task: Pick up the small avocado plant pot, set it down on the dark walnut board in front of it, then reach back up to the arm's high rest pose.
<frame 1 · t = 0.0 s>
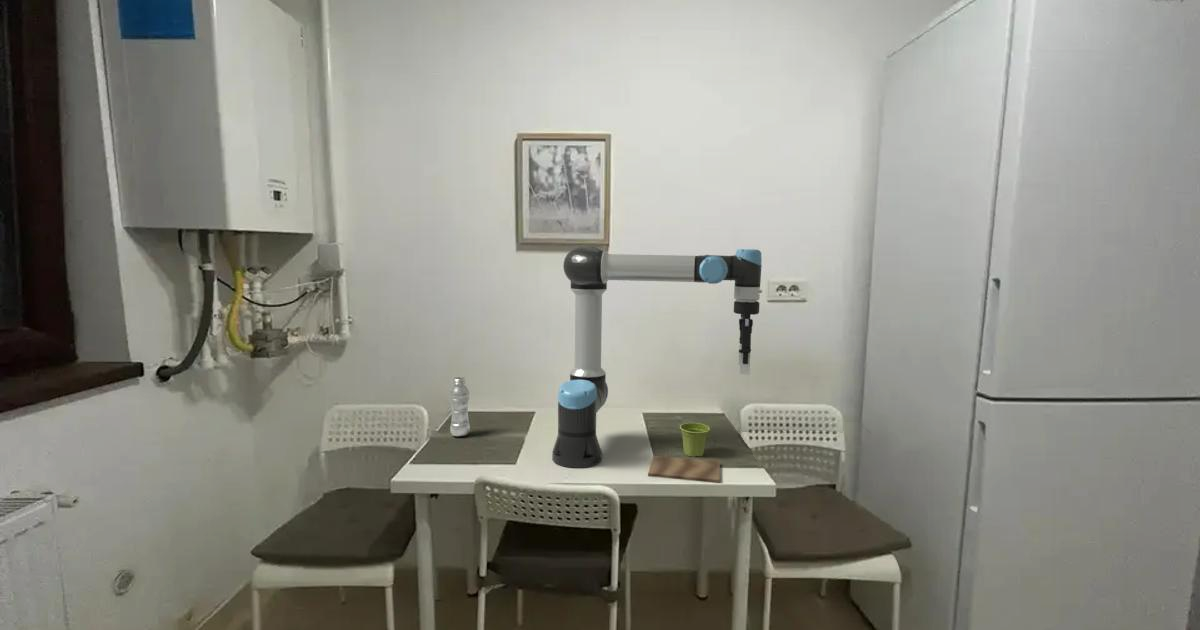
hand: (743, 369, 174), 28 cm above the table, tool pointing down, fingers open, 13 cm apart
plant pot: (693, 454, 181), on the table
walnut board: (684, 469, 167), on the table
plastic bottle: (460, 435, 195), on the table
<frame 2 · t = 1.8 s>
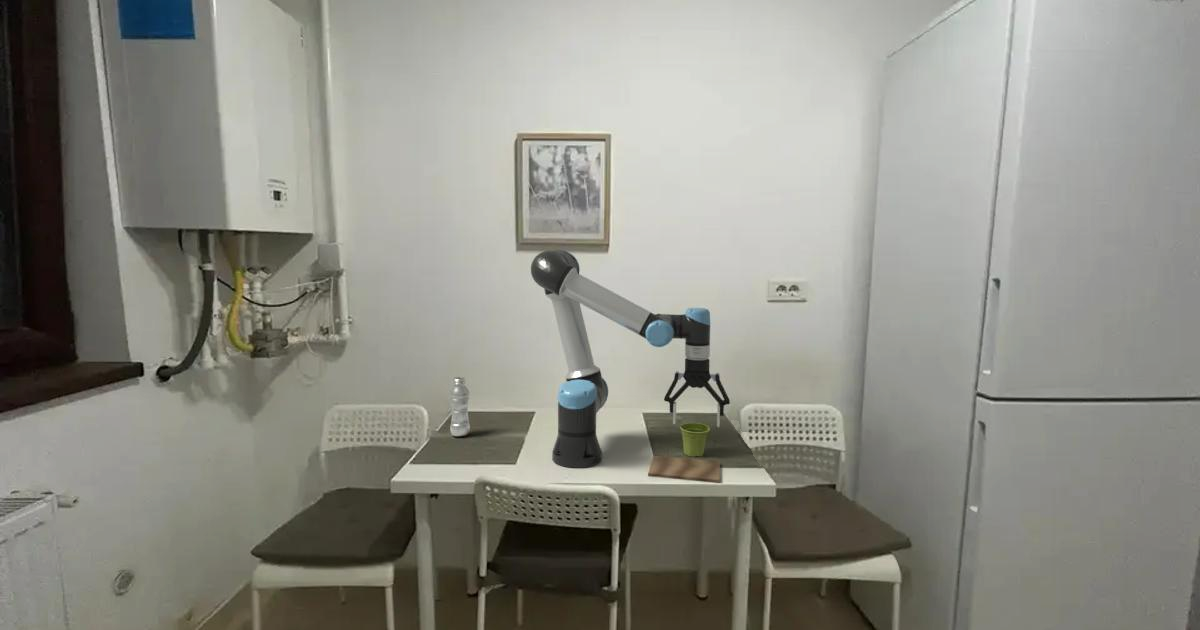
hand: (696, 424, 179), 10 cm above the table, tool pointing down, fingers open, 13 cm apart
nothing on the table moved.
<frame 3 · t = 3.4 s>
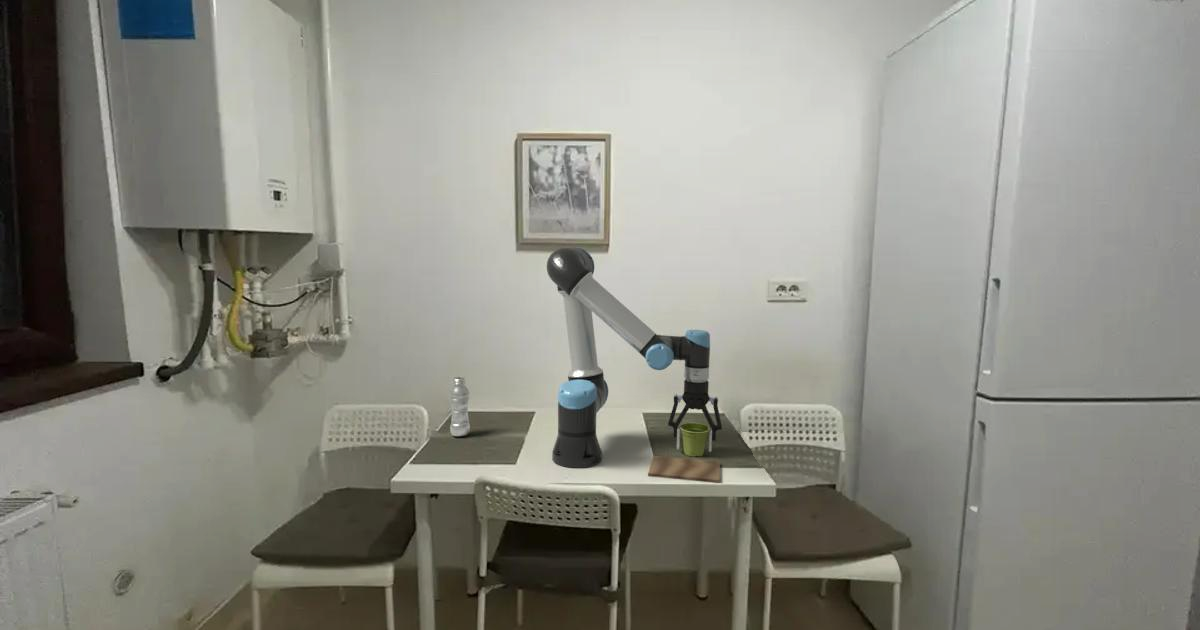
hand: (694, 448, 180), 2 cm above the table, tool pointing down, fingers closed on plant pot, 9 cm apart
plant pot: (693, 454, 181), on the table, touching gripper
everything else where it was.
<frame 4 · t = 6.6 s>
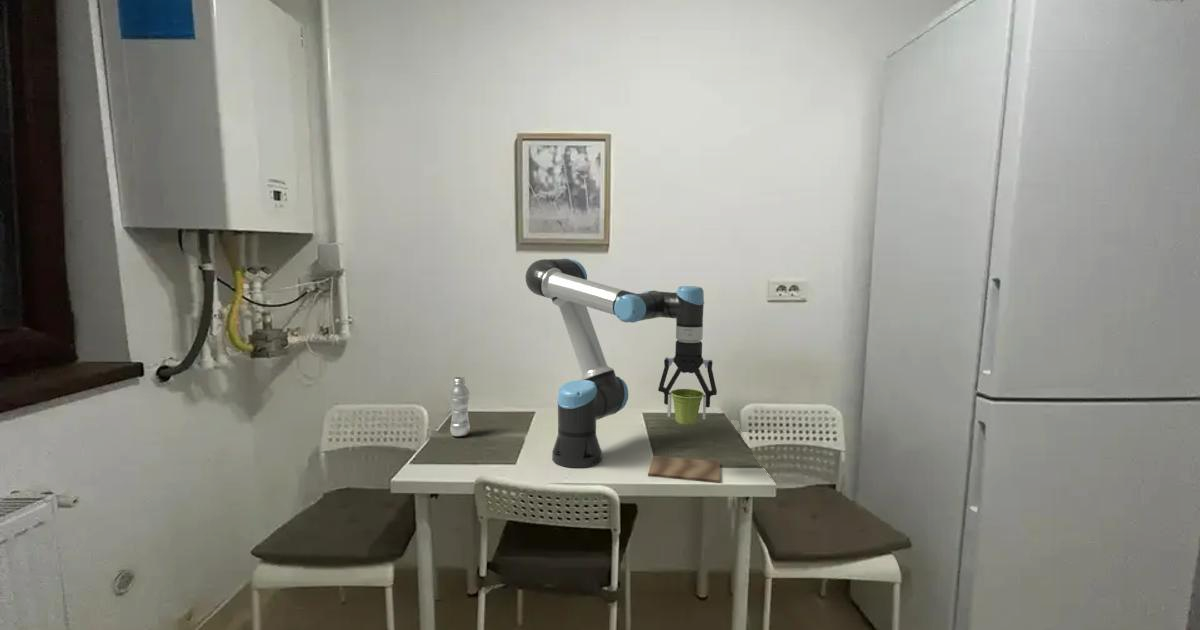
hand: (686, 416, 165), 16 cm above the table, tool pointing down, fingers closed on plant pot, 9 cm apart
plant pot: (686, 422, 166), point 14 cm above the table, touching gripper
everything else where it was.
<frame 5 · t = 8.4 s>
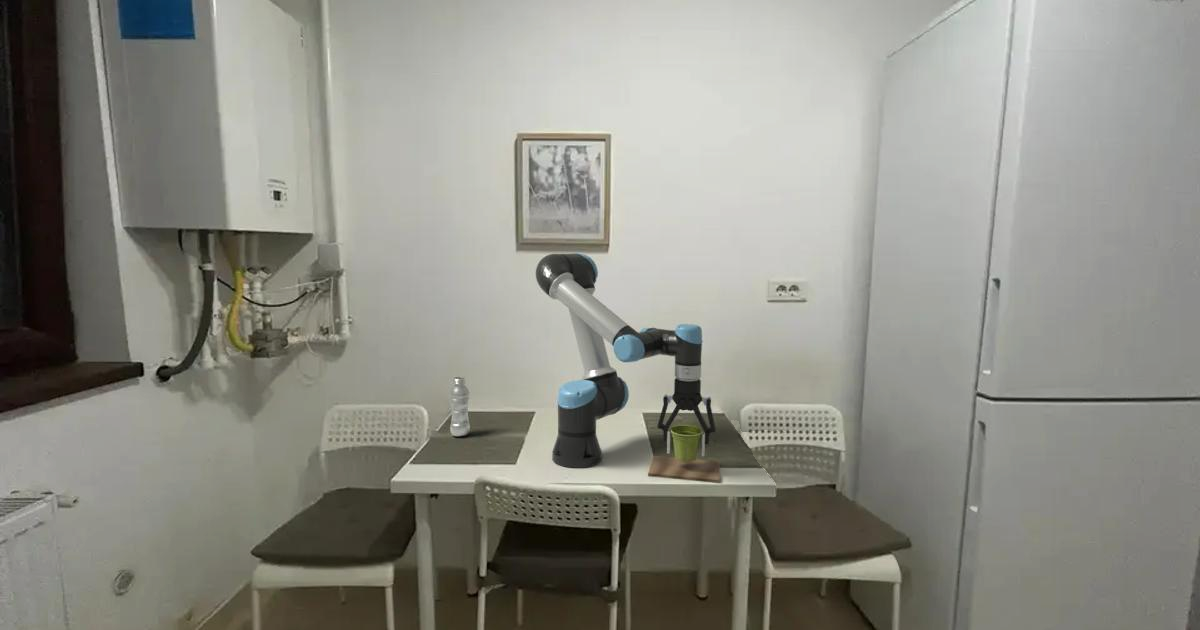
hand: (685, 453, 167), 5 cm above the table, tool pointing down, fingers closed on plant pot, 9 cm apart
plant pot: (685, 459, 167), point 3 cm above the table, touching gripper
everything else where it was.
when the fingers open (3 cm above the table, at t = 9.9 s): plant pot stays where it is, resting on walnut board.
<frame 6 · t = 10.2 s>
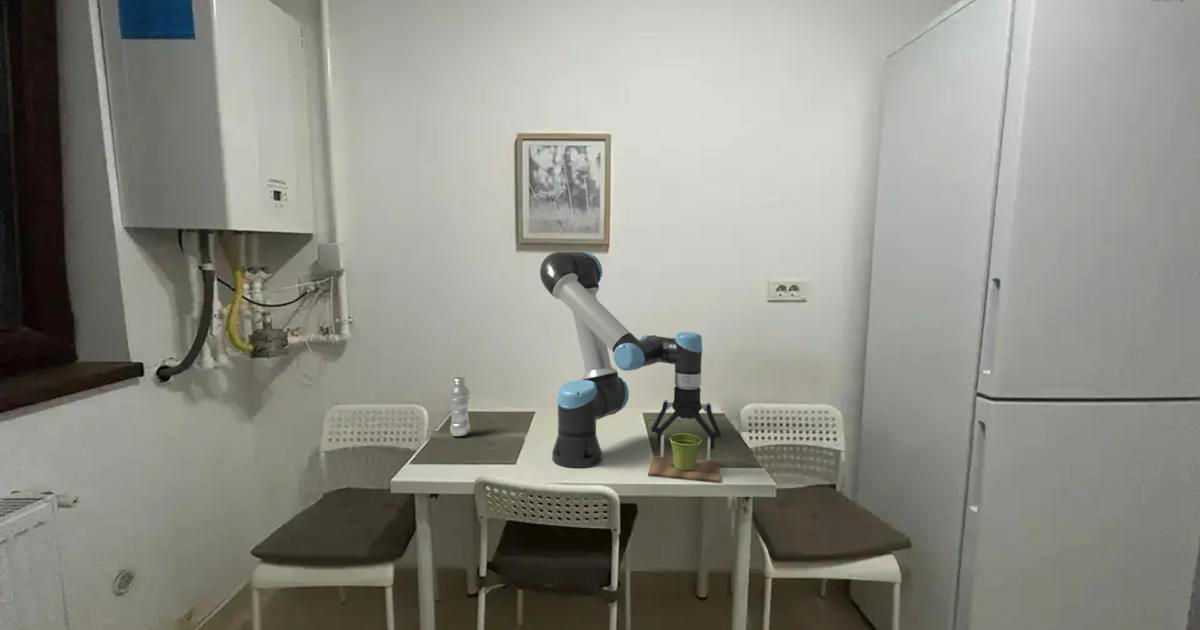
hand: (685, 457, 167), 4 cm above the table, tool pointing down, fingers open, 13 cm apart
plant pot: (684, 467, 167), point 1 cm above the table, touching walnut board
everything else where it was.
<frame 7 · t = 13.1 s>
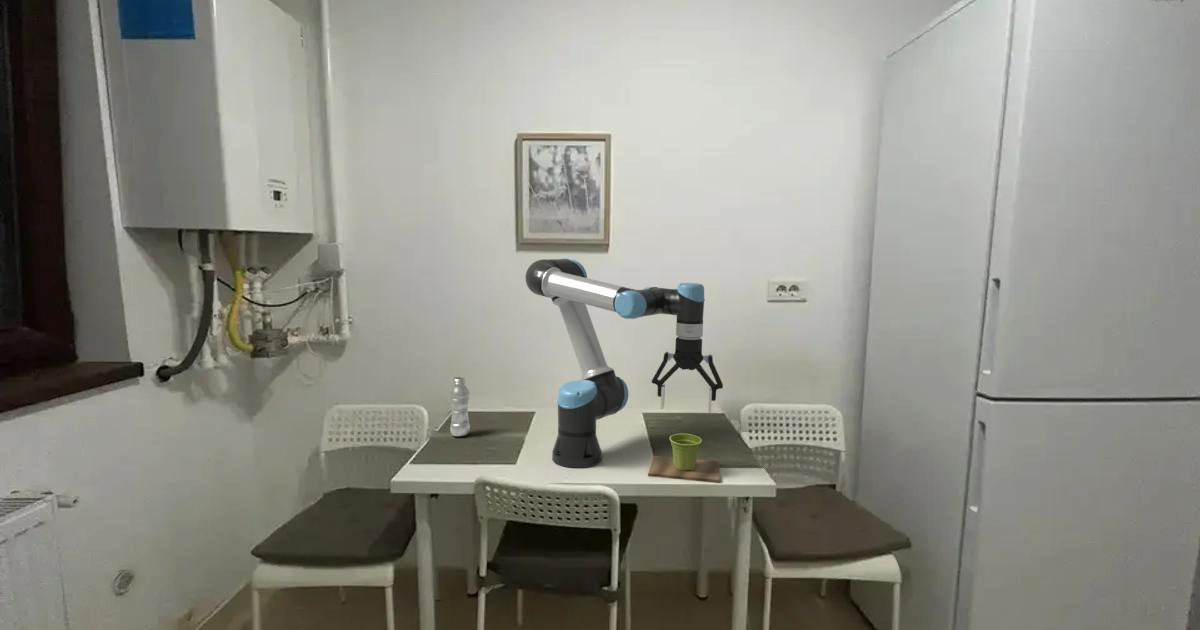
hand: (685, 409, 165), 18 cm above the table, tool pointing down, fingers open, 13 cm apart
nothing on the table moved.
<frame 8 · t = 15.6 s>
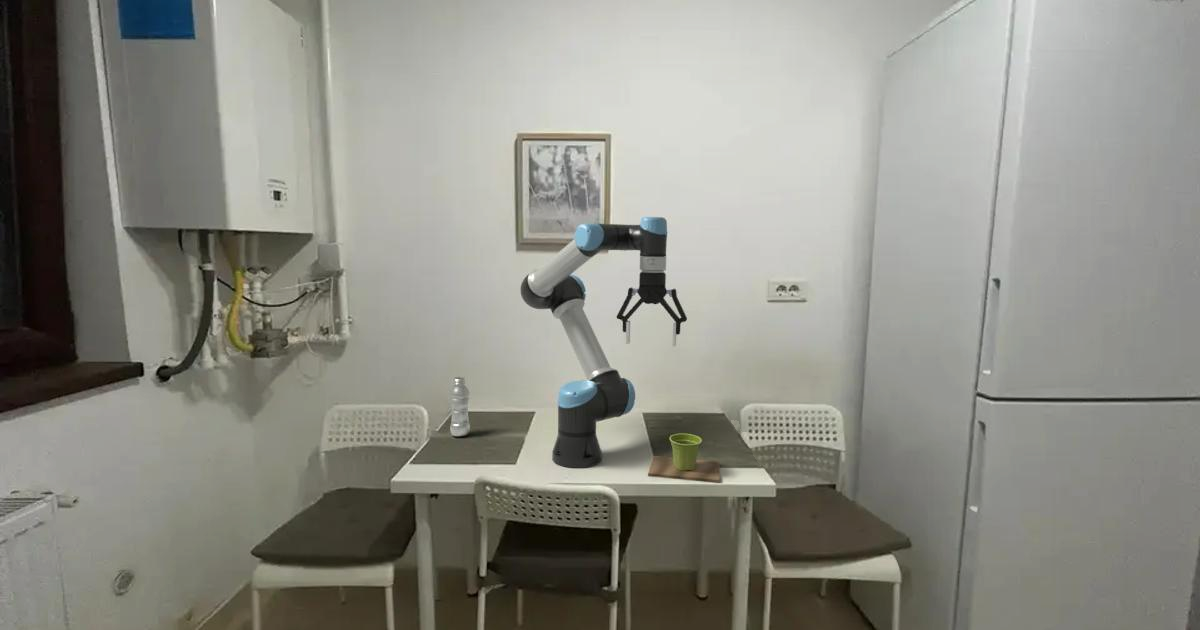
hand: (650, 344, 166), 37 cm above the table, tool pointing down, fingers open, 13 cm apart
nothing on the table moved.
at the end: plant pot inside the target area on the walnut board (0.0 cm from its centre), point 0.6 cm above the walnut board's base; plant pot tilted 0°; the gripper is holding nothing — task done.
